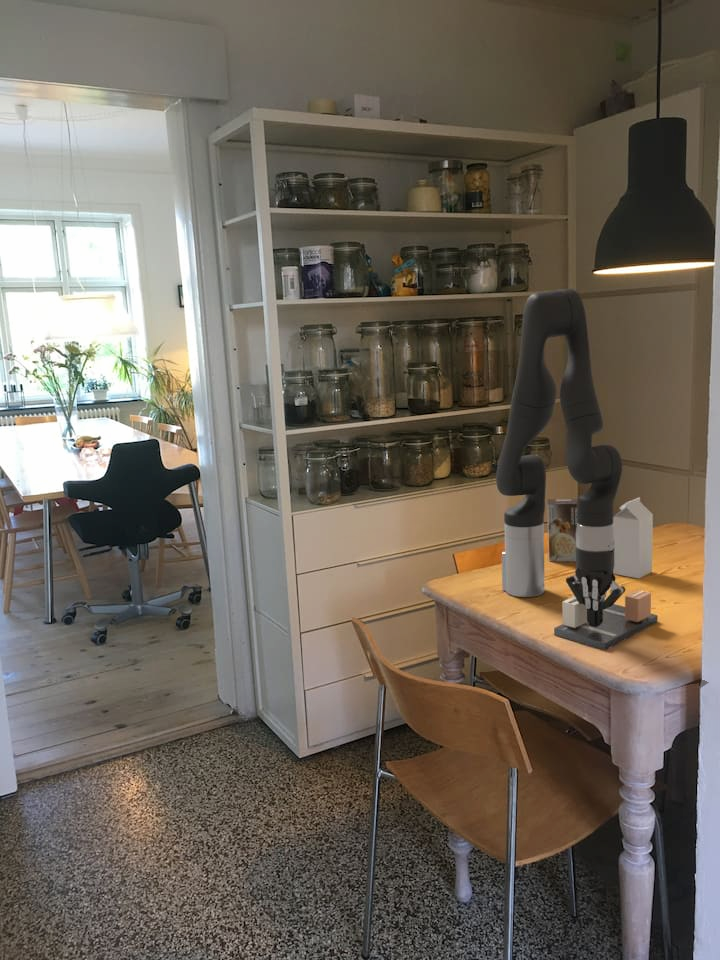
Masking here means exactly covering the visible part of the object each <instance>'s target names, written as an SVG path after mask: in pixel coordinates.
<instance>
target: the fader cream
mask: <svg viewBox="0 0 720 960" xmlns="http://www.w3.org/2000/svg"><path fill="white" fill-rule="evenodd" d="M586 622H587V608H586V606H585V605H584V604H580V603H579V602H578V601H577V599H576V597H575V596H574V595H573V596H571V597H569V598H568V599H565V600H564V601H562V624H563V625H566V626H570V627H573V628H576V627H578V626H580V625H582V624H584V623H586Z"/></svg>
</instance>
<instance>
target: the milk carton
mask: <svg viewBox="0 0 720 960" xmlns="http://www.w3.org/2000/svg"><path fill="white" fill-rule="evenodd" d="M619 509H620V511H618V512H617V513H616V514H615V515H613V526H614V534H615V552H614V569H613V573H614V575H619V576H623V577H629V578H635V579H641V578H643V577H645V576H647V575H649V574H650V573H652V572H653V532H654V531H653V528H654V527H653V526H654V523H653V521H654V514H653V513H652V512H651V511H650V510H649V509H648V508H647V507H646V506H644V504H643V503H642V502H641V497H637V498H634V499H632V500H630V501H626V502H625V503H624V504H622V505H621V506H620V507H619Z"/></svg>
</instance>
